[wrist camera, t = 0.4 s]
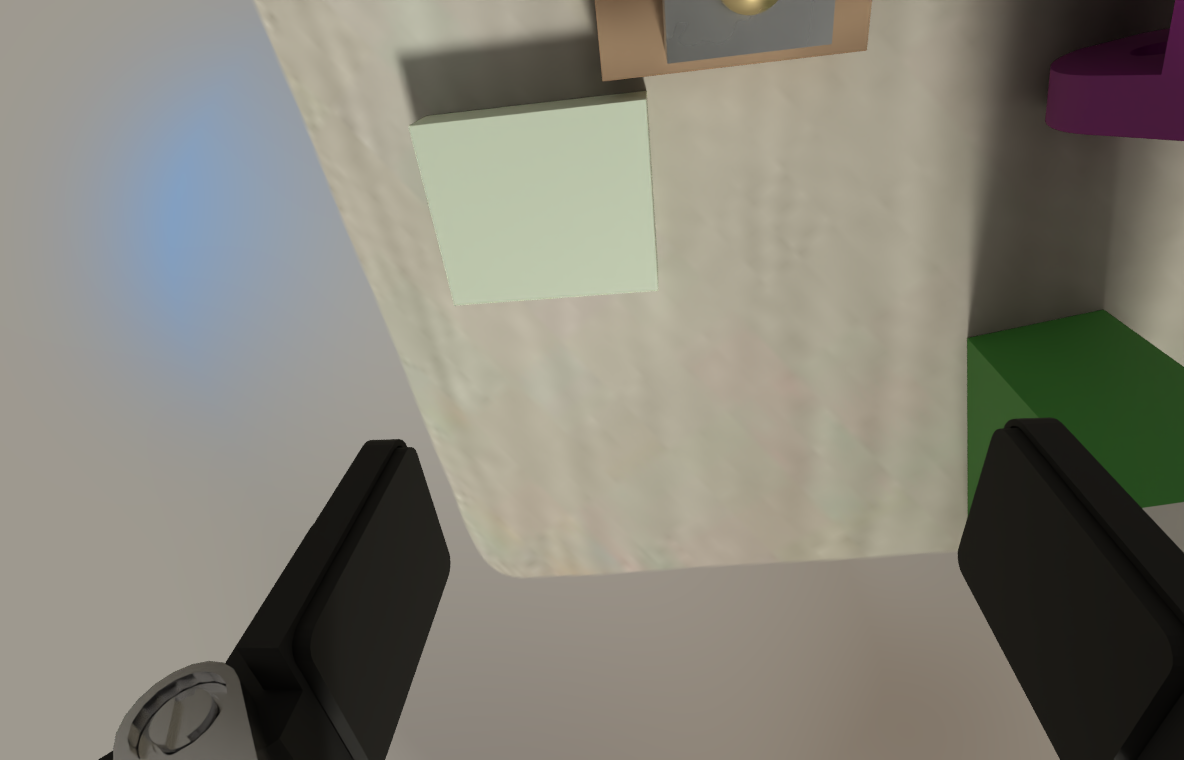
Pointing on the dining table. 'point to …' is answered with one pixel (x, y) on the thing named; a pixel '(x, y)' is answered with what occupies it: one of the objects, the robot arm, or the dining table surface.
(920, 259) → the dining table surface
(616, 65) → the stand
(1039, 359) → the hardback book
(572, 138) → the stand
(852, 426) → the dining table surface
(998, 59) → the dining table surface
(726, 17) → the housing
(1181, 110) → the mounting bracket
